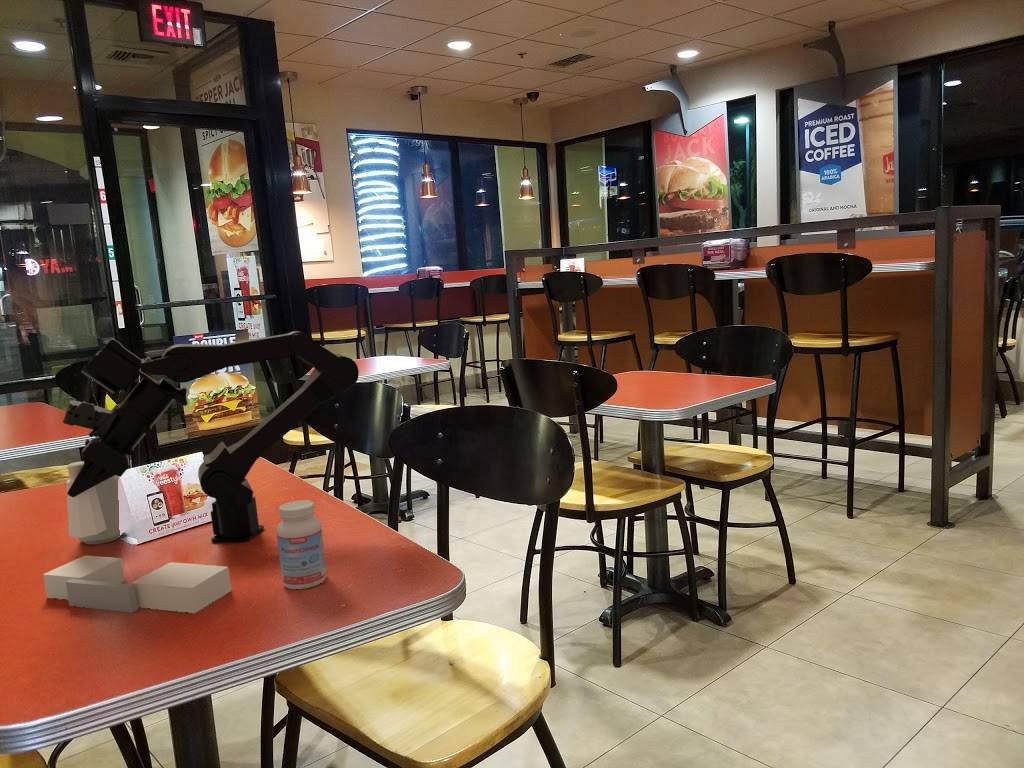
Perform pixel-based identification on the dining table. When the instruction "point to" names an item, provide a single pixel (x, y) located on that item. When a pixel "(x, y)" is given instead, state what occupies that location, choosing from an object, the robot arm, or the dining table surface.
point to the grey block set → (137, 585)
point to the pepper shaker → (83, 508)
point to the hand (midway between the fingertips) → (71, 492)
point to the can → (107, 512)
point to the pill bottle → (300, 545)
